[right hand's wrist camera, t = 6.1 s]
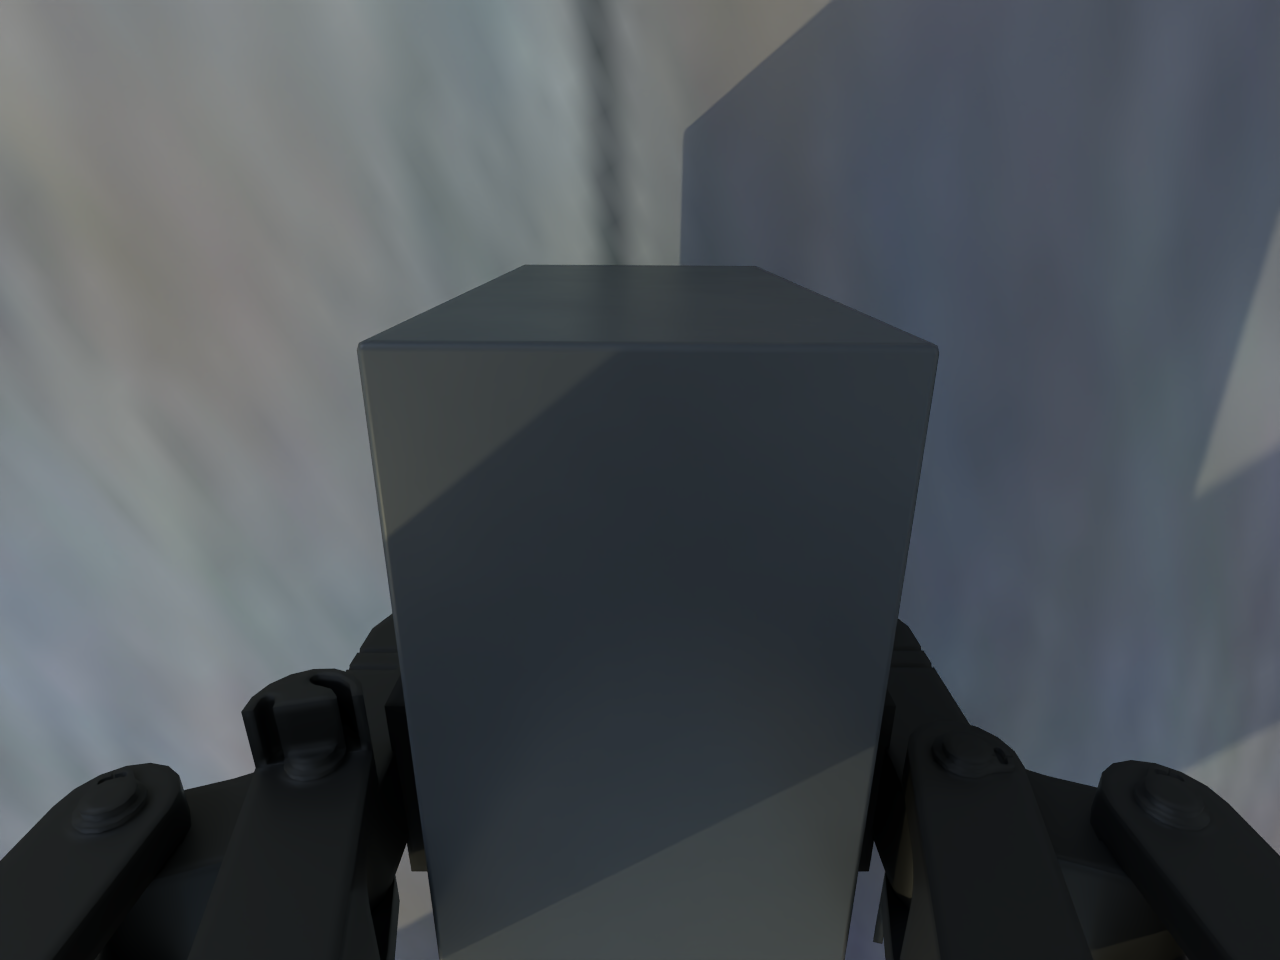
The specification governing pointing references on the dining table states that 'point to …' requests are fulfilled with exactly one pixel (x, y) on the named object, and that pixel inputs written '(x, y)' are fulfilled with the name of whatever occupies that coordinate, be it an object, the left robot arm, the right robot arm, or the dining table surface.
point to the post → (645, 602)
